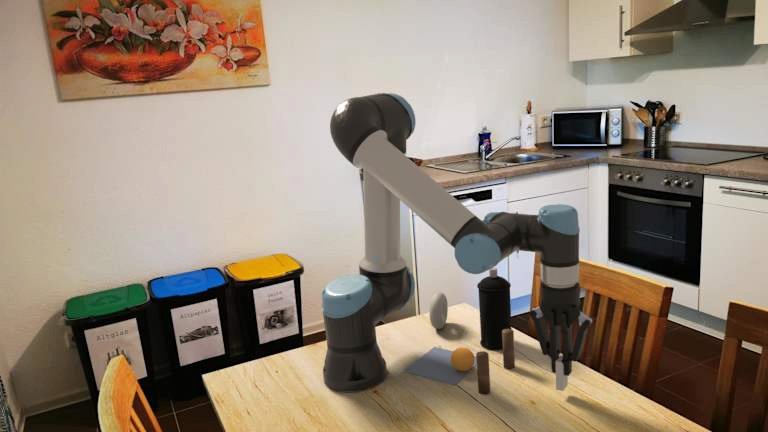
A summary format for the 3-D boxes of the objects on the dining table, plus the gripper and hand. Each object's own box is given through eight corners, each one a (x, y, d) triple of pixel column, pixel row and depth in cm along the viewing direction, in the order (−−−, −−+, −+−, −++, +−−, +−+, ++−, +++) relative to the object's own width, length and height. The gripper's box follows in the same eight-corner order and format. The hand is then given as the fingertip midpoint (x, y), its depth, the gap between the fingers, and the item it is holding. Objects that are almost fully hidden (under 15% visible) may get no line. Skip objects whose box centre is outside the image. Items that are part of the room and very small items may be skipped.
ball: (468, 358, 137) (465, 379, 139) (480, 349, 141) (477, 369, 143) (447, 349, 140) (445, 369, 142) (459, 340, 144) (456, 359, 146)
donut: (441, 335, 161) (439, 300, 159) (429, 334, 162) (426, 300, 160) (450, 320, 170) (447, 286, 168) (438, 319, 171) (435, 286, 169)
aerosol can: (499, 353, 148) (496, 276, 144) (473, 344, 154) (469, 270, 150) (519, 342, 154) (516, 267, 149) (493, 333, 160) (490, 261, 155)
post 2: (501, 367, 142) (500, 332, 139) (506, 363, 144) (505, 328, 141) (512, 370, 140) (510, 334, 138) (516, 365, 142) (515, 330, 140)
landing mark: (403, 371, 144) (403, 370, 144) (434, 347, 155) (434, 346, 155) (454, 385, 136) (454, 384, 136) (483, 359, 147) (483, 358, 146)
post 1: (476, 393, 132) (474, 355, 130) (481, 387, 134) (479, 350, 132) (486, 396, 130) (485, 357, 128) (492, 390, 132) (490, 352, 130)
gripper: (598, 280, 121) (598, 386, 127) (536, 271, 129) (539, 372, 134) (586, 292, 115) (586, 403, 121) (521, 283, 123) (525, 388, 129)
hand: (561, 387), depth 128 cm, fingers closed
